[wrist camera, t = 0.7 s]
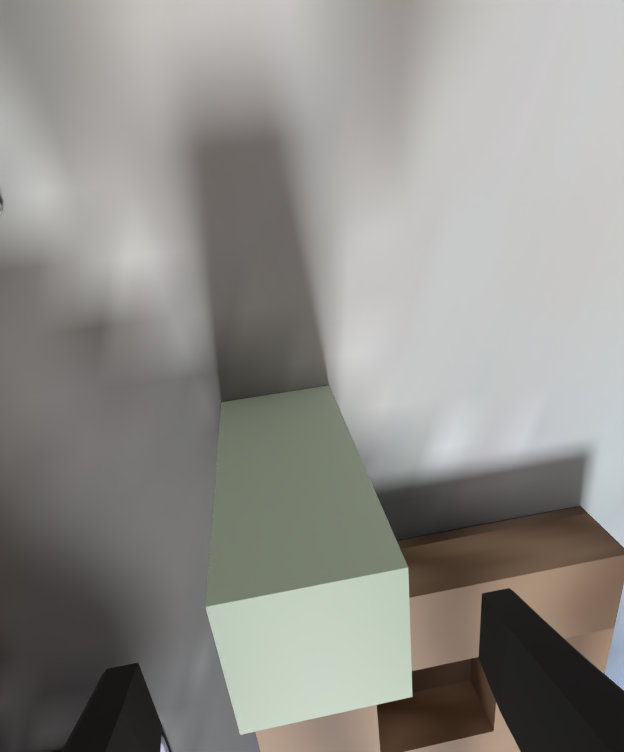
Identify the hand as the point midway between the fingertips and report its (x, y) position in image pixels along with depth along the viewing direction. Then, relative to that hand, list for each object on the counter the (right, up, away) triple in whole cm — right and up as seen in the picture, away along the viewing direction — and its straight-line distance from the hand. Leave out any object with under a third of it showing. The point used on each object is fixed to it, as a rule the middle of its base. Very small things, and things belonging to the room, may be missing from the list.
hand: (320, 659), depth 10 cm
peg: (-1, +3, +8) cm, 9 cm away
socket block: (+5, -8, +14) cm, 17 cm away
